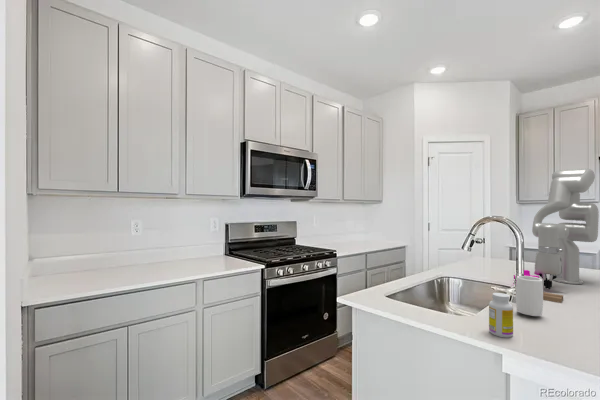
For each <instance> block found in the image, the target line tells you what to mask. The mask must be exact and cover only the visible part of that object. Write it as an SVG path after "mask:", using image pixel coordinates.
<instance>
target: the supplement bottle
mask: <svg viewBox="0 0 600 400" xmlns="http://www.w3.org/2000/svg"><path fill="white" fill-rule="evenodd" d="M509 301H510V295H509V294H507V293H504V292H493V293H492V300H490V302H489V303H488V330H489V333H490V334H492V335H494V336H495V337H500V338H508V339H509V338H512V337H513V336H514V307H513V305H512V303H511V302H509Z"/></svg>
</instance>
